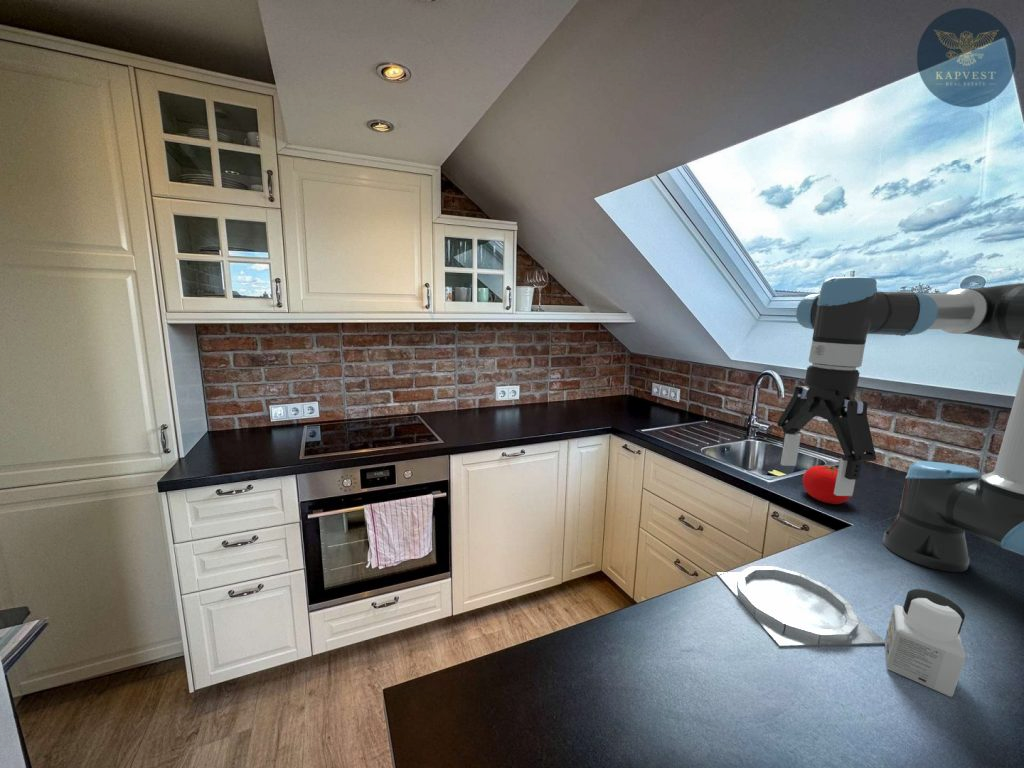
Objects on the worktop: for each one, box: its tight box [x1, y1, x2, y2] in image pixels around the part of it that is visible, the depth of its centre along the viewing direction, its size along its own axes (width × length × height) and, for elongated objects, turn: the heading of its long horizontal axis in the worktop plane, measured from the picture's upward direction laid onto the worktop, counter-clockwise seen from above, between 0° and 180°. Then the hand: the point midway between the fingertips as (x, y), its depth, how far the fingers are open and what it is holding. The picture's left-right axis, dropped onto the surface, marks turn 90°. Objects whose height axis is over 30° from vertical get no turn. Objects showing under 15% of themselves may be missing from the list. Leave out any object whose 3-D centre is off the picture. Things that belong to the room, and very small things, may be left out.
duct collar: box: [716, 565, 885, 648], centre depth 83 cm, size 20×20×2 cm
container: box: [884, 588, 967, 697], centre depth 68 cm, size 8×8×13 cm
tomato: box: [802, 464, 855, 505], centre depth 131 cm, size 12×13×11 cm
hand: (813, 478), depth 79 cm, fingers open, 13 cm apart
